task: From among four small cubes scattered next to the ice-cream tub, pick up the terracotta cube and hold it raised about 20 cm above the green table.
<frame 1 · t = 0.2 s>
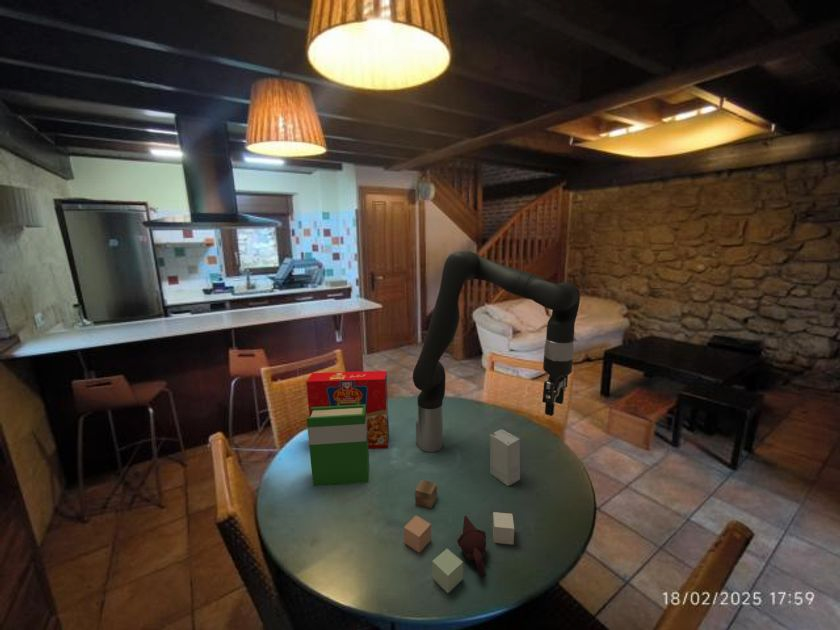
hand: (554, 408, 103), 29 cm above the table, fingers open, 8 cm apart
icecream: (472, 552, 91), on the table
walnut cube: (426, 501, 109), on the table
cream cube: (502, 535, 96), on the table
hardback book: (342, 477, 120), on the table
terracotta cube: (417, 541, 95), on the table
sage cube: (447, 578, 84), on the table
skincare box: (503, 477, 119), on the table
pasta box: (352, 444, 139), on the table
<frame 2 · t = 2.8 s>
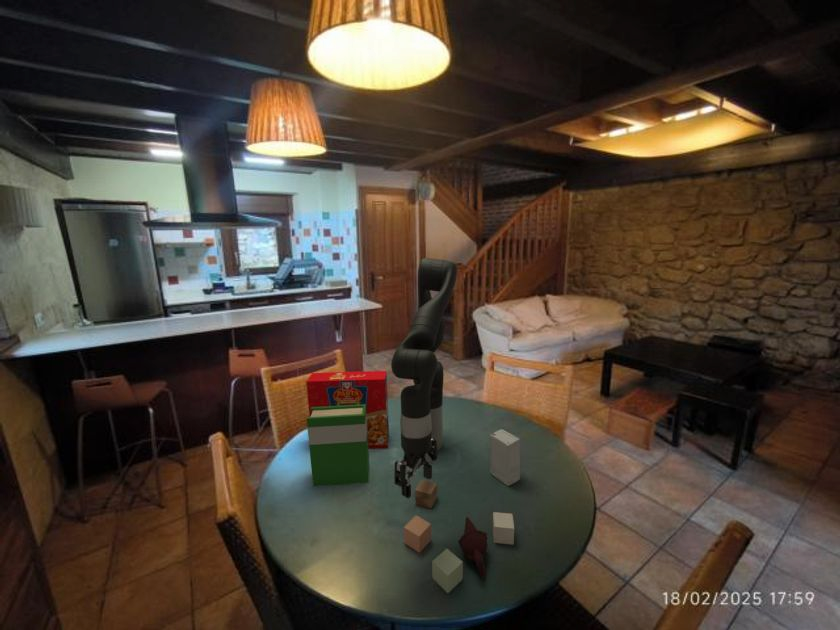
hand: (417, 487, 91), 17 cm above the table, fingers open, 8 cm apart
nothing on the table moved.
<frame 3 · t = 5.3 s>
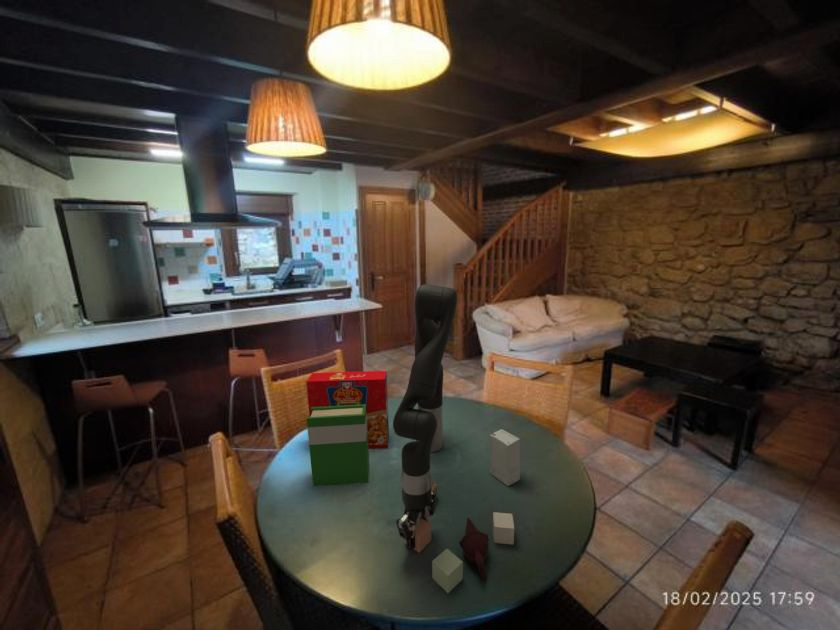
hand: (417, 539, 95), 1 cm above the table, fingers closed on terracotta cube, 5 cm apart
terracotta cube: (417, 541, 95), on the table, touching gripper
everything else where it was.
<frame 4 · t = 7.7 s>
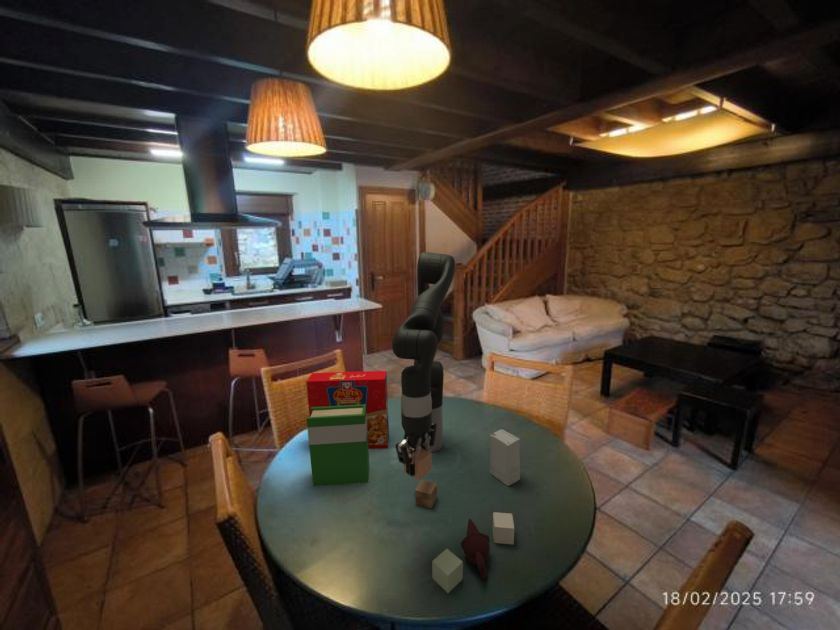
hand: (417, 468, 92), 20 cm above the table, fingers closed on terracotta cube, 5 cm apart
terracotta cube: (417, 470, 93), point 19 cm above the table, touching gripper
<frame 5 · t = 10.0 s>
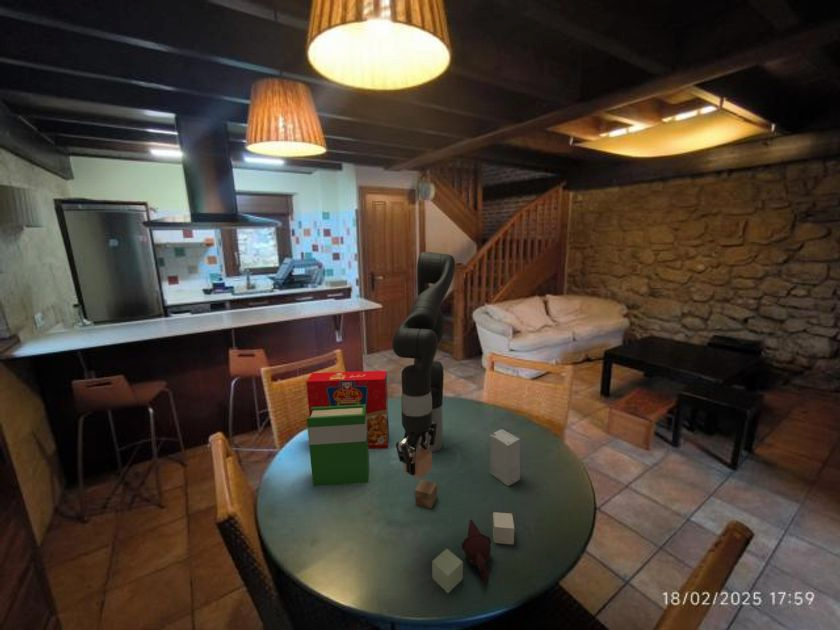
hand: (418, 467, 92), 20 cm above the table, fingers closed on terracotta cube, 5 cm apart
terracotta cube: (418, 470, 92), point 20 cm above the table, touching gripper
at the end: the gripper is holding terracotta cube; terracotta cube point 19.6 cm above the table; sage cube moved 0.1 cm from its start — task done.
